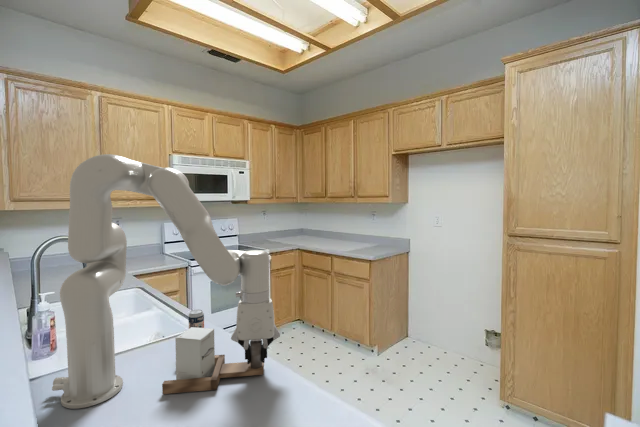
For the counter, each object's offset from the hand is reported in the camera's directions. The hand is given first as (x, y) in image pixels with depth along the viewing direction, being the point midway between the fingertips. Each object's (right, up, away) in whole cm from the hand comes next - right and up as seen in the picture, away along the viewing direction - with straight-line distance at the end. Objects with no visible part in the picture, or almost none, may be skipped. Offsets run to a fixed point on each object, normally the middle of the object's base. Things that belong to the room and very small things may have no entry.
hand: (256, 360), depth 88 cm
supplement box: (-16, -4, -2) cm, 16 cm away
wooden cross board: (-10, -4, -1) cm, 11 cm away
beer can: (-22, -3, +15) cm, 27 cm away
